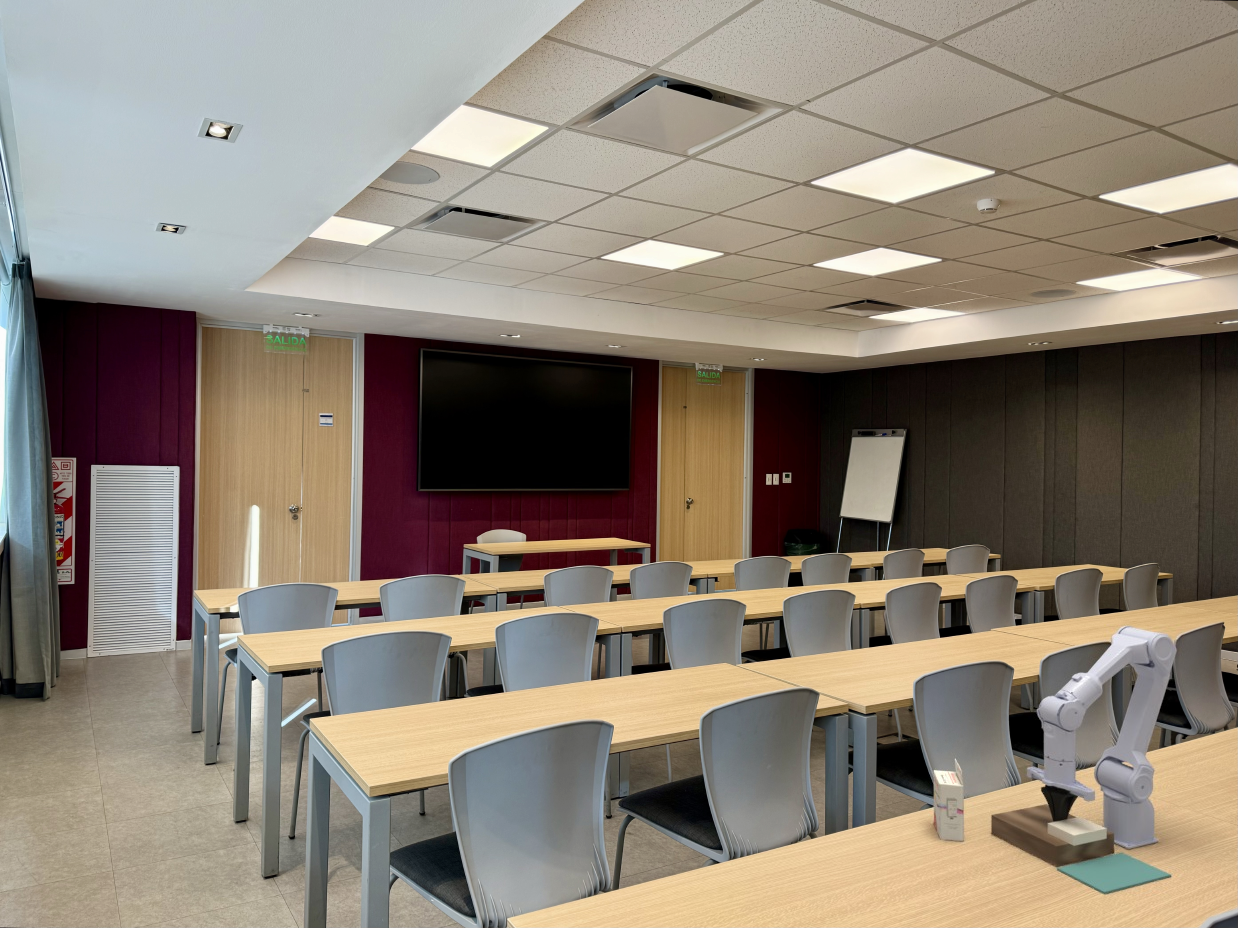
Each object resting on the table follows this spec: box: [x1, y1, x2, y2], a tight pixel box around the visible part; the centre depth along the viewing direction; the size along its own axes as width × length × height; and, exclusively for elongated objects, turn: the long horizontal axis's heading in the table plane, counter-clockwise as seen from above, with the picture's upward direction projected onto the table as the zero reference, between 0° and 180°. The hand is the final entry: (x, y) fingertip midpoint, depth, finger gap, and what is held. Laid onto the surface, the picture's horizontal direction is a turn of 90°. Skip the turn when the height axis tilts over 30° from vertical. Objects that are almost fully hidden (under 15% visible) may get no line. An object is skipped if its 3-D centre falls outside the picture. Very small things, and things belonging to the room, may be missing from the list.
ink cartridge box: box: [933, 758, 965, 842], centre depth 177 cm, size 9×5×15 cm, turn 168°
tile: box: [1048, 816, 1107, 846], centre depth 166 cm, size 9×6×2 cm, turn 112°
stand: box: [990, 803, 1115, 868], centre depth 172 cm, size 16×16×4 cm
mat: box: [1056, 852, 1172, 895], centre depth 159 cm, size 18×10×1 cm, turn 112°
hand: (1059, 823), depth 170 cm, fingers closed
